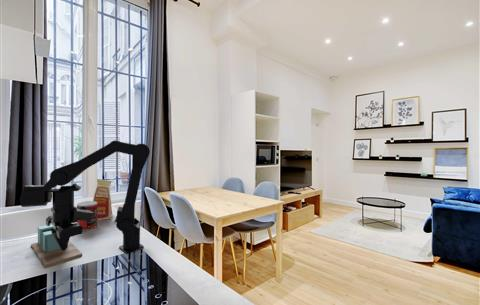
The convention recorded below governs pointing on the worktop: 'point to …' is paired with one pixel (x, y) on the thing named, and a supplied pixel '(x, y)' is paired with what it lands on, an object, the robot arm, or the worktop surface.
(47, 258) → the board
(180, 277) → the worktop surface
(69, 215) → the robot arm
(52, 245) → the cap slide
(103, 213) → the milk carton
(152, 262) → the worktop surface
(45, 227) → the cap fixed
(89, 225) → the canned food
